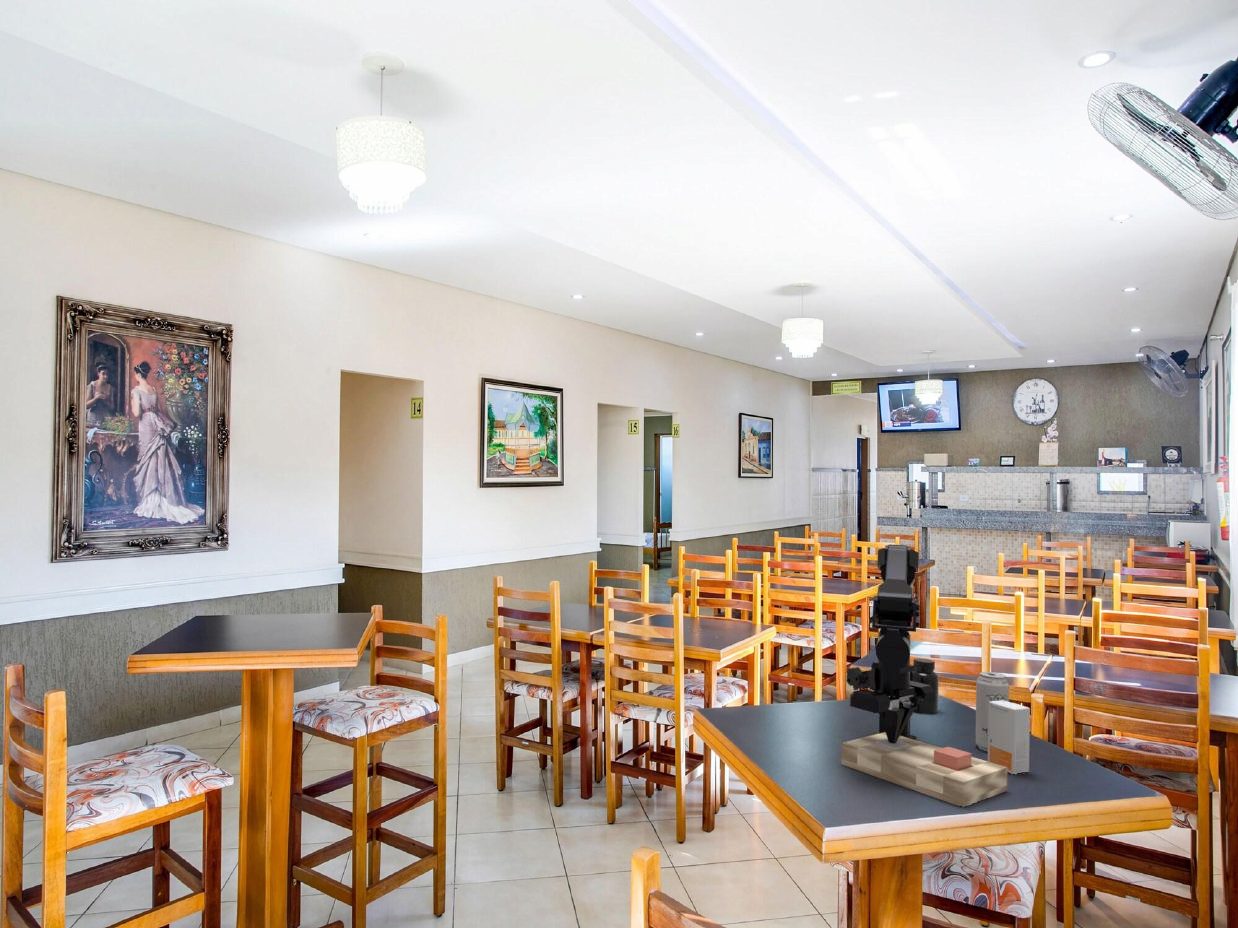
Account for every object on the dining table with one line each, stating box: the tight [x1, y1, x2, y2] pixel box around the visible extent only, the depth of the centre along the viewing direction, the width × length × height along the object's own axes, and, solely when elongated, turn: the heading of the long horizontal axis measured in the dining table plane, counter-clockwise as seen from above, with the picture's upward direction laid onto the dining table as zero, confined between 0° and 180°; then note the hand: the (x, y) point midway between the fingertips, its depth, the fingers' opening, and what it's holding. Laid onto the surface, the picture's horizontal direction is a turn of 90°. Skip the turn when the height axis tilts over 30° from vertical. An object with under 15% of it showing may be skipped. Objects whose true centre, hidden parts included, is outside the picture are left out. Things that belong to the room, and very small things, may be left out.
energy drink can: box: [975, 671, 1010, 753], centre depth 160 cm, size 6×6×15 cm
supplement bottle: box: [911, 657, 940, 715], centre depth 189 cm, size 7×7×12 cm
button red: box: [934, 746, 973, 771], centre depth 137 cm, size 4×4×4 cm
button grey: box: [875, 738, 910, 751], centre depth 146 cm, size 4×4×4 cm
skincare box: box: [986, 700, 1031, 775], centre depth 148 cm, size 6×4×12 cm
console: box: [840, 732, 1008, 808], centre depth 141 cm, size 14×24×4 cm, turn 36°
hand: (892, 742), depth 146 cm, fingers closed, pressing on button grey
